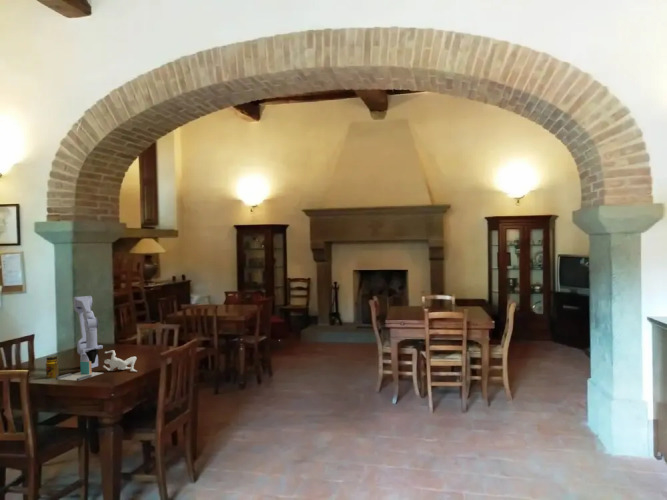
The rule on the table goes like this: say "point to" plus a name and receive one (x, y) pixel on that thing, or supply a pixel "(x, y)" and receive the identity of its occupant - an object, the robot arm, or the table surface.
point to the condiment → (52, 367)
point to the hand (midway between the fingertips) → (92, 363)
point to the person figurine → (119, 362)
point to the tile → (85, 367)
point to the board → (77, 376)
